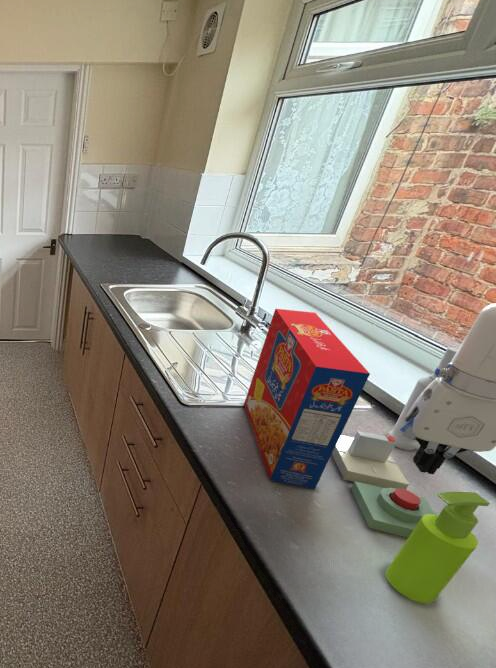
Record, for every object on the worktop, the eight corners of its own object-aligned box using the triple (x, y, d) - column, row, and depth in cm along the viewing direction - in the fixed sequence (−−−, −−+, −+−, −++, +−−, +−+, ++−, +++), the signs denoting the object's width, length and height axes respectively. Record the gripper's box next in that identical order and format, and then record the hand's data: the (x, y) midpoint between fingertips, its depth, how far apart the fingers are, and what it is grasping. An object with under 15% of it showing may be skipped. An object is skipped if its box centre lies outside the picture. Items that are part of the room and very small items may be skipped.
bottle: (419, 445, 96) (475, 350, 85) (412, 454, 94) (469, 358, 82) (390, 433, 100) (440, 341, 89) (383, 441, 97) (434, 348, 86)
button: (411, 498, 78) (415, 491, 77) (420, 513, 75) (424, 506, 74) (387, 492, 79) (391, 486, 79) (395, 507, 76) (399, 500, 76)
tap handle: (350, 455, 90) (361, 434, 87) (347, 450, 91) (358, 429, 89) (385, 462, 88) (397, 441, 85) (381, 457, 89) (393, 436, 87)
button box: (419, 505, 81) (429, 490, 79) (446, 548, 73) (458, 532, 71) (350, 488, 85) (358, 474, 83) (368, 527, 77) (377, 512, 75)
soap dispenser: (369, 567, 70) (425, 480, 61) (411, 568, 70) (473, 481, 61) (399, 603, 65) (465, 513, 56) (445, 604, 64) (518, 514, 55)
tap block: (324, 440, 98) (328, 431, 97) (378, 451, 94) (383, 442, 93) (342, 479, 87) (347, 470, 86) (404, 493, 84) (410, 484, 82)
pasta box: (243, 404, 111) (275, 308, 98) (278, 410, 108) (315, 312, 96) (269, 479, 87) (315, 366, 75) (314, 489, 85) (370, 373, 72)
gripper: (429, 383, 65) (378, 470, 73) (563, 405, 60) (492, 496, 68) (407, 360, 71) (362, 443, 79) (527, 379, 66) (466, 465, 74)
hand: (422, 467), depth 73 cm, fingers closed
